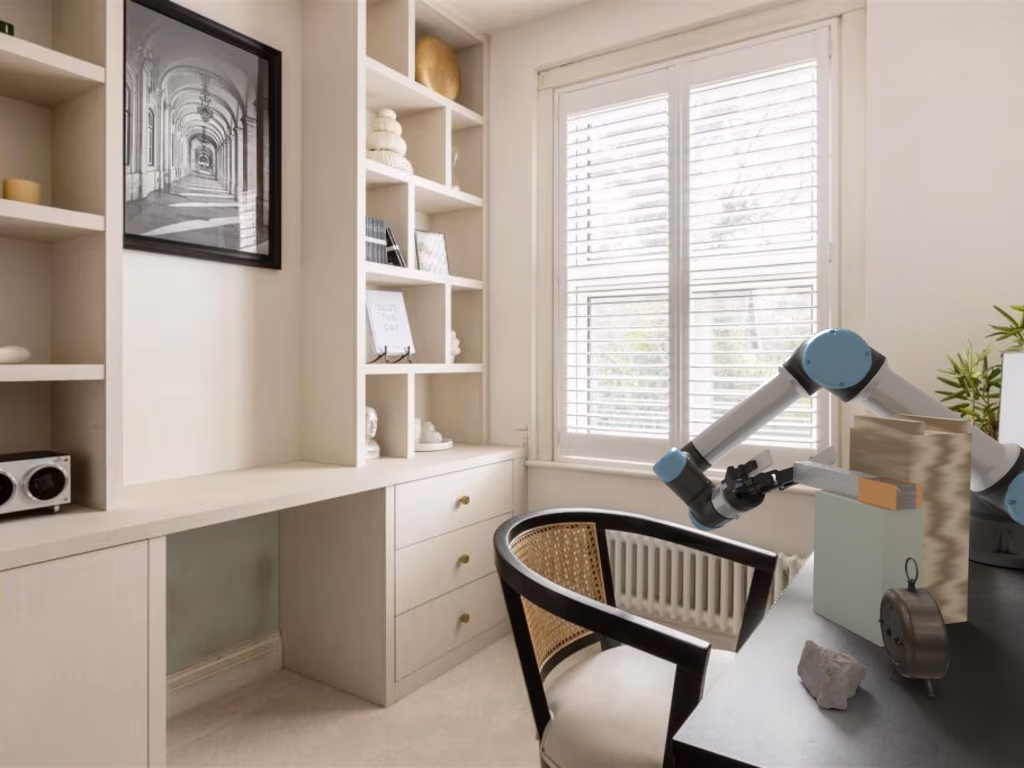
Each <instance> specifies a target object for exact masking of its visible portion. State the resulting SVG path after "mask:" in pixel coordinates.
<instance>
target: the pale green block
mask: <svg viewBox="0 0 1024 768" xmlns="http://www.w3.org/2000/svg"><path fill="white" fill-rule="evenodd" d="M813 521H814V522H813V523H814V524H813V526H814V529H813V530H814V533H813V536H814V537H813V538H814V539H813V585H812V586H813V588H812V590H813V595H812V598H813V599H812V602H813V603H812V611H813V612H814V613H816V614H819V616H822V617H823V618H826V619H828V620H829V621H831V622H834V623H835V624H837V625H839V626H841V627H843V628H845V629H846V630H848V631H850V632H852V633H854V634H855V635H858V636H860V637H862V638H863V639H866V640H867V641H869V642H871V643H872V644H875V645H876V646H879V647H880V648H885V646H884V642H883V638H882V633H881V626H880V622H879V619H880V604H881V600H882V597H883V595H884V593H885V592H886V591H887V590H889V589H891V588H908V582H907V580H908V579H907V576H906V573H905V561H906V559H907V558H908V557H913V558H914V559H915V560H916V562H917V565H918V571H919V574H918V579H917V581H916V584H915V587H916V588H921V583H922V540H923V507H922V508H914V509H901V510H888V509H884V508H880V507H877V506H873V505H870V504H866V503H862V502H859V501H858V499H855V498H851V497H847V496H844V495H840V494H836V493H833V492H829V491H825V490H822V489H819V490H814V520H813ZM907 571H908V575H909V578H913V579H915V577H916V569H915V564H914V562H913V560H911V559H910V560H909V561H908V564H907Z"/></svg>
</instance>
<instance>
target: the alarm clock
mask: <svg viewBox="0 0 1024 768" xmlns="http://www.w3.org/2000/svg"><path fill="white" fill-rule="evenodd" d="M910 559H911V560H913V562H914V564H915V569H916V577H915V579H913V578H909V575H908V571H907V564H908V561H909V560H910ZM905 573H906V576H907V579H908V580H907V582H908V588H891V589H889V590H887V591H886V592H885V593H884V595H883V597H882V600H881V604H880V619H879V622H880V626H881V633H882V638H883V642H884V646H885V647H884V649H885V651H886V655H887V656H888V658H889V661H890V664H891V667H892V668H891V671H890V673H889V676H888V678H889V679H892V678H893V677H894V675H895V674H896V673H899V674H900V675H901V676H902V677H905V678H907V679H908V678H909V679H922V680H923V681H924V684H925V687H926V690H927V691H928V695H927V696H928V698H929V699H935V694H934V688H933V686H934V685H933V683H932V680H940V679H941V680H942V679H943V678H944V677H945V675H946V674H947V672H948V668H949V664H950V662H949V661H950V644H949V637H948V632H947V626H946V624H945V622H944V619H943V616H942V613H941V611H940V608H939V606H938V604H937V602H936V600H935V598H934V597H933V596H932V595H931V593H930V592H928V591H927V590H926V589H924V588H916V587H915V584H916V581H917V579H918V574H919V571H918V565H917V562H916V560H915V559H914V558H913V557H908V558H907V559H906V561H905Z"/></svg>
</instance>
